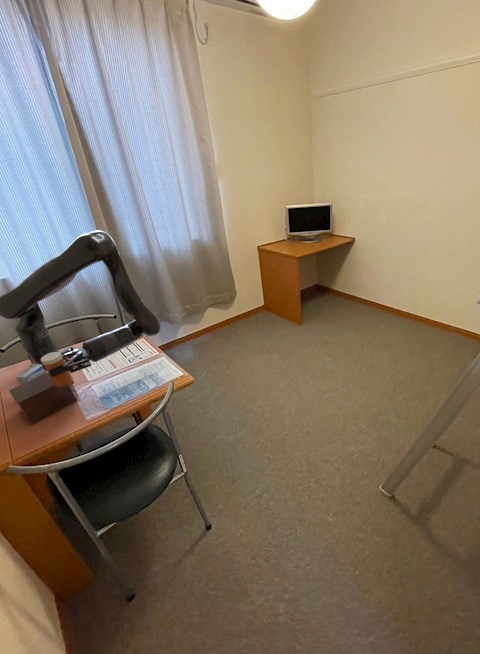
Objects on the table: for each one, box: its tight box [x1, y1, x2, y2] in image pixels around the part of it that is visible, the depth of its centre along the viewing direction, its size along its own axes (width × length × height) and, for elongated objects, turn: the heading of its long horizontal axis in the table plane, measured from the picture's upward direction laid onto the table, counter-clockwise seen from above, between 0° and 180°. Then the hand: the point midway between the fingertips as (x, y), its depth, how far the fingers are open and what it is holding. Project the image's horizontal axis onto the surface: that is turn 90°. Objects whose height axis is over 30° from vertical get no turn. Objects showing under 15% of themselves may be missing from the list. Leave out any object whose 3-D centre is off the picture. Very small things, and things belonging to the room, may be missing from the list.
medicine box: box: [15, 364, 48, 385], centre depth 121 cm, size 8×4×9 cm, turn 168°
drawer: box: [68, 380, 79, 399], centre depth 114 cm, size 14×9×7 cm
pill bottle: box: [41, 351, 74, 387], centre depth 104 cm, size 5×5×10 cm
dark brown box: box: [8, 373, 78, 425], centre depth 112 cm, size 14×11×9 cm
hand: (46, 371), depth 101 cm, fingers closed on pill bottle, 5 cm apart
